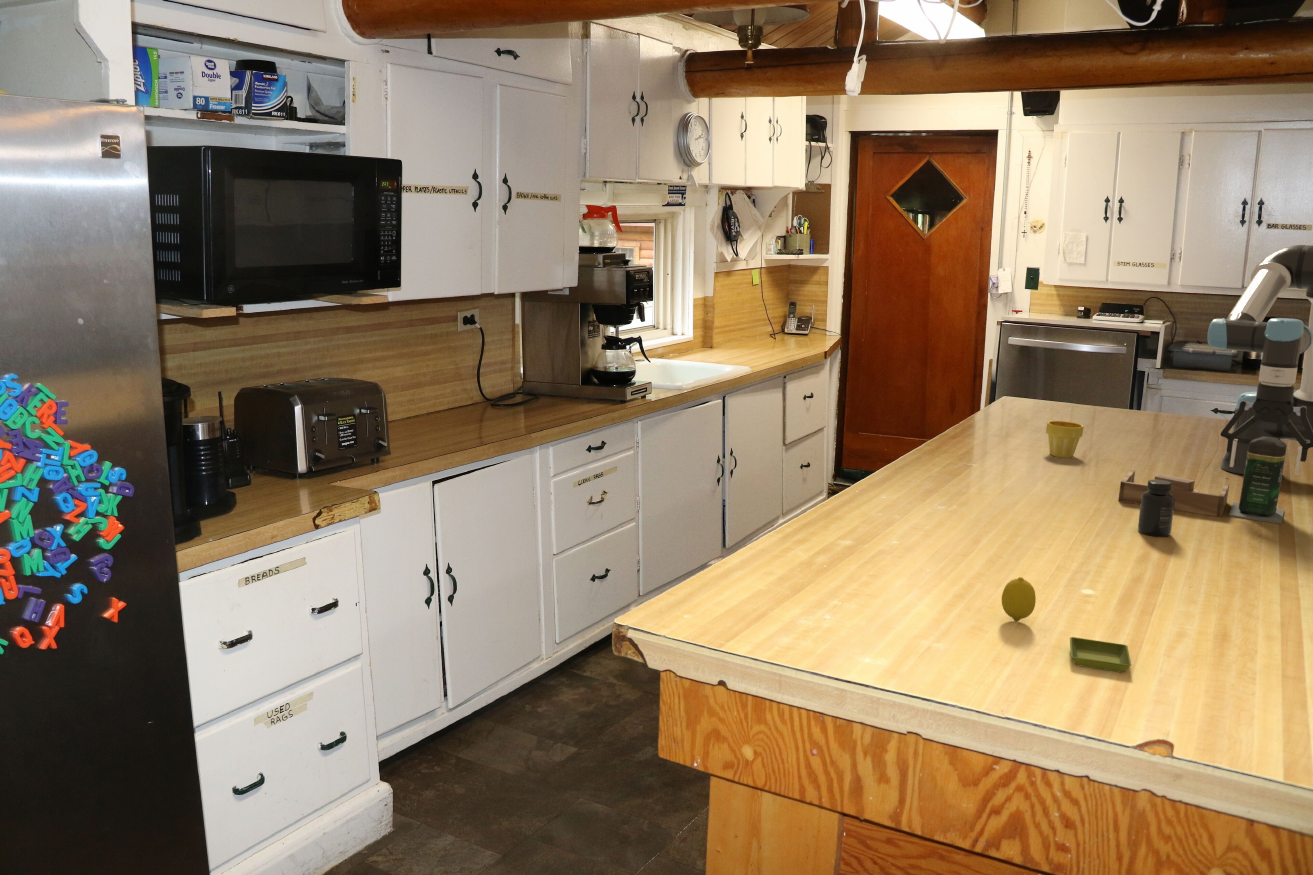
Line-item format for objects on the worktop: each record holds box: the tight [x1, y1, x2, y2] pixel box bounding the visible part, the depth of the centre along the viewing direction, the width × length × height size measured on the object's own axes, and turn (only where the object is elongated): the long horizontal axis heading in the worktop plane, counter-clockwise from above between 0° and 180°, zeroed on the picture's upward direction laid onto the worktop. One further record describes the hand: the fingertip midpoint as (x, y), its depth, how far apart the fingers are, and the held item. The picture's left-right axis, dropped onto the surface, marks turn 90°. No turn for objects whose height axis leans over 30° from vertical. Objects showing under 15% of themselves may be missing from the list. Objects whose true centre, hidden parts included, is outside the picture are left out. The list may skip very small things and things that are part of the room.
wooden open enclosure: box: [1118, 469, 1230, 518], centre depth 259 cm, size 16×23×5 cm
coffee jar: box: [1238, 436, 1287, 516], centre depth 248 cm, size 10×8×19 cm
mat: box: [1228, 501, 1285, 525], centre depth 251 cm, size 14×11×1 cm
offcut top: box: [1154, 473, 1196, 491], centre depth 255 cm, size 4×8×2 cm, turn 42°
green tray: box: [1069, 636, 1132, 673], centre depth 162 cm, size 9×9×2 cm
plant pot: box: [1045, 420, 1084, 459], centre depth 309 cm, size 10×10×10 cm
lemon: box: [1001, 576, 1037, 622], centre depth 177 cm, size 6×6×8 cm
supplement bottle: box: [1137, 479, 1175, 538], centre depth 231 cm, size 7×7×12 cm
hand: (1263, 470), depth 249 cm, fingers open, 13 cm apart
